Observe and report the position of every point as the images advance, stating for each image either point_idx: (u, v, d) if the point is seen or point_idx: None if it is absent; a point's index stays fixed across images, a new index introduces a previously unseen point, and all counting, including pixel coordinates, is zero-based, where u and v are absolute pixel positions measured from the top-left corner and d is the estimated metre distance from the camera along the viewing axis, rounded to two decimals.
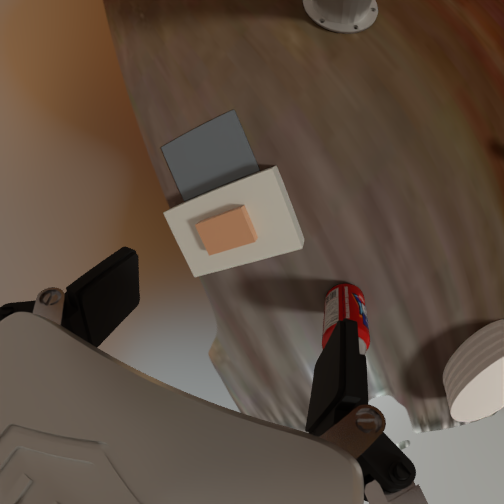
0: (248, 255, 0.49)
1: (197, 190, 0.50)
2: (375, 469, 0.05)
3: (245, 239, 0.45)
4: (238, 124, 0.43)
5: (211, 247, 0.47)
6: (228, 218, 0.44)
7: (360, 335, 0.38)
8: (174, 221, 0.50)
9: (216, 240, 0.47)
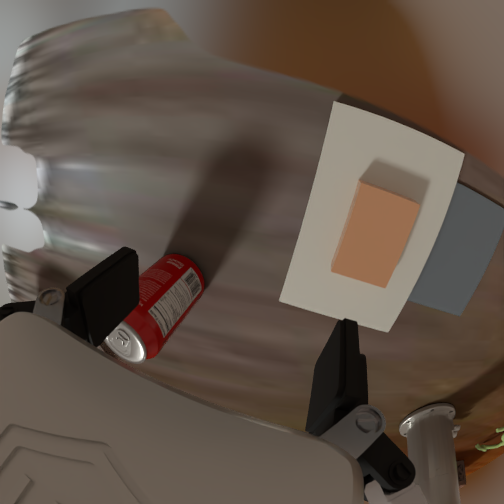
0: (315, 229, 0.27)
1: None
2: (375, 469, 0.05)
3: (344, 261, 0.25)
4: (447, 310, 0.30)
5: (370, 199, 0.22)
6: (388, 263, 0.24)
7: None
8: (442, 158, 0.20)
9: (375, 217, 0.23)
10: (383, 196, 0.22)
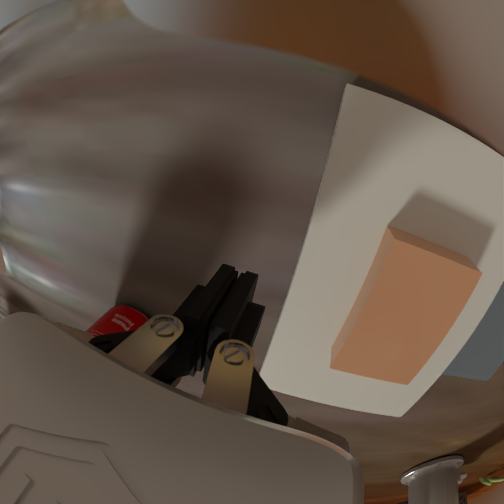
0: (309, 303, 0.16)
1: None
2: None
3: (351, 357, 0.15)
4: (474, 377, 0.19)
5: (408, 267, 0.12)
6: (418, 357, 0.14)
7: None
8: None
9: (410, 295, 0.12)
10: (429, 262, 0.11)
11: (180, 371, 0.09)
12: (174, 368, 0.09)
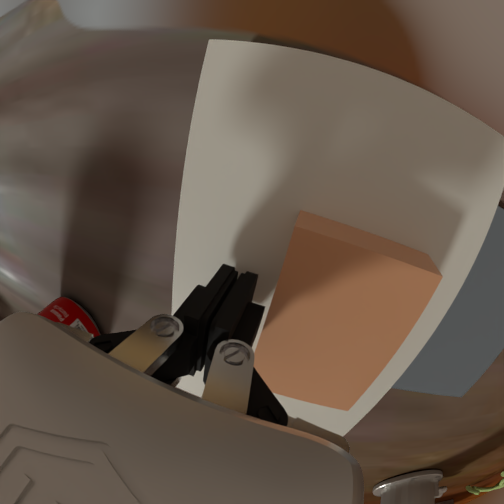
0: None
1: None
2: None
3: (266, 373, 0.13)
4: (444, 393, 0.17)
5: (320, 266, 0.10)
6: (355, 381, 0.11)
7: None
8: (472, 150, 0.08)
9: (330, 304, 0.10)
10: (353, 258, 0.09)
11: (180, 371, 0.09)
12: (174, 368, 0.09)
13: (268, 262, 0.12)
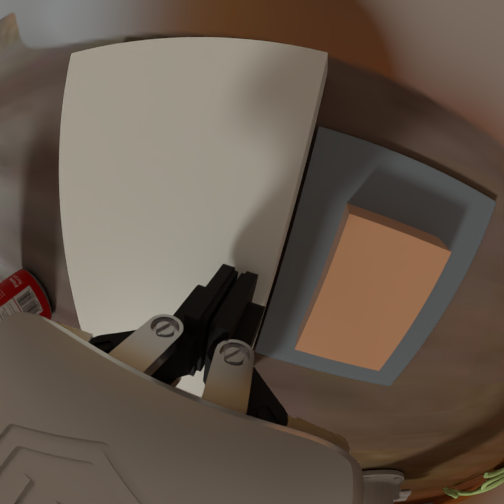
0: (76, 249, 0.15)
1: (318, 196, 0.14)
2: None
3: None
4: (362, 378, 0.19)
5: None
6: None
7: None
8: (260, 73, 0.09)
9: None
10: None
11: (180, 371, 0.09)
12: (174, 368, 0.09)
13: (107, 211, 0.13)
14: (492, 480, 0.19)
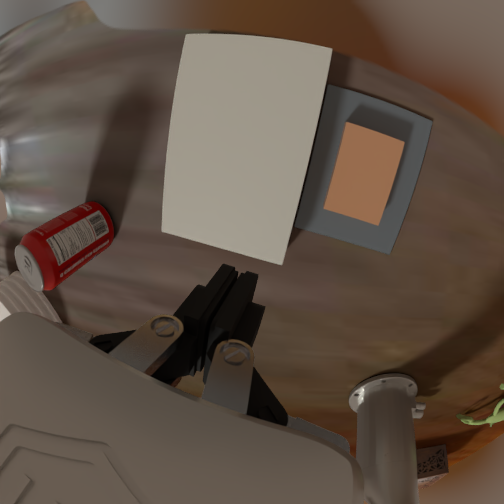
0: (179, 151, 0.26)
1: (329, 119, 0.24)
2: None
3: None
4: (368, 246, 0.29)
5: None
6: None
7: (44, 289, 0.26)
8: (303, 56, 0.19)
9: None
10: None
11: (180, 371, 0.09)
12: (174, 368, 0.09)
13: (213, 122, 0.24)
14: None
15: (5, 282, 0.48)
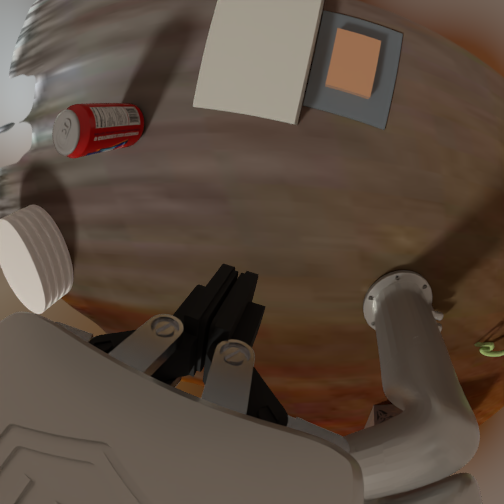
0: (215, 45, 0.29)
1: (326, 30, 0.27)
2: None
3: None
4: (365, 121, 0.32)
5: None
6: None
7: (75, 151, 0.29)
8: None
9: None
10: None
11: (180, 371, 0.09)
12: (174, 368, 0.09)
13: (242, 25, 0.27)
14: None
15: (17, 211, 0.51)
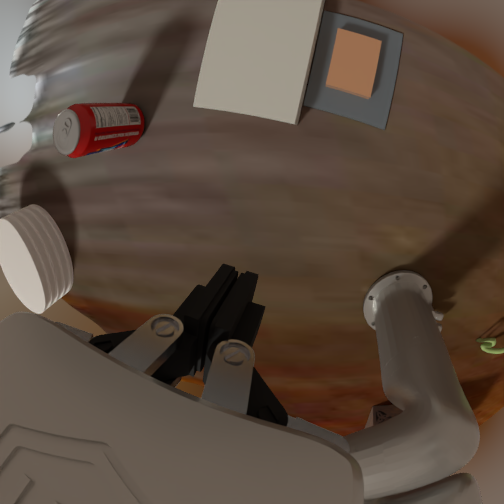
0: (215, 45, 0.29)
1: (326, 30, 0.27)
2: None
3: None
4: (366, 121, 0.32)
5: None
6: None
7: (75, 151, 0.29)
8: None
9: None
10: None
11: (180, 371, 0.09)
12: (174, 368, 0.09)
13: (243, 25, 0.27)
14: None
15: (17, 211, 0.51)
